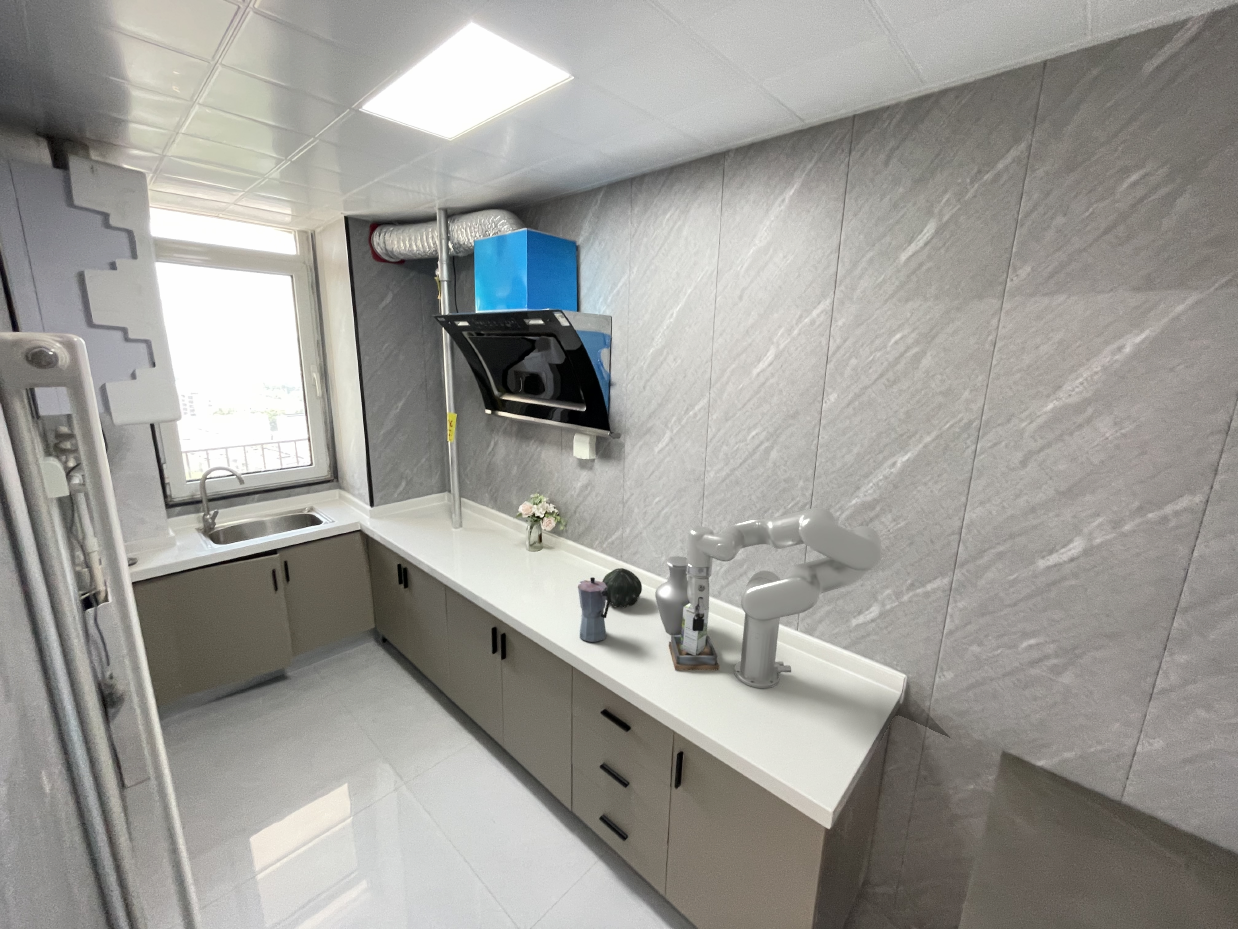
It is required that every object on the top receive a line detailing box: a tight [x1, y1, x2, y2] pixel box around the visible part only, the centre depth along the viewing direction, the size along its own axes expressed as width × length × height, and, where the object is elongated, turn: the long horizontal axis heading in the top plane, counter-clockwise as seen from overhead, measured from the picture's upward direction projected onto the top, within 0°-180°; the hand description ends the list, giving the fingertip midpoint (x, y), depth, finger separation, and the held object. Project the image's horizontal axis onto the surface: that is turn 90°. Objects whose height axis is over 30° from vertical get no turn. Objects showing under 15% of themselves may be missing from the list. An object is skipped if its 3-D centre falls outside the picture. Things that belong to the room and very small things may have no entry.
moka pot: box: [577, 577, 611, 643], centre depth 165 cm, size 10×15×20 cm, turn 45°
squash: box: [601, 567, 643, 608], centre depth 190 cm, size 14×15×15 cm
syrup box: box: [680, 603, 710, 656], centre depth 155 cm, size 6×6×14 cm
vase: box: [654, 555, 689, 636], centre depth 170 cm, size 14×14×25 cm
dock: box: [668, 635, 720, 671], centre depth 157 cm, size 13×13×4 cm
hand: (694, 622), depth 155 cm, fingers closed on syrup box, 7 cm apart
